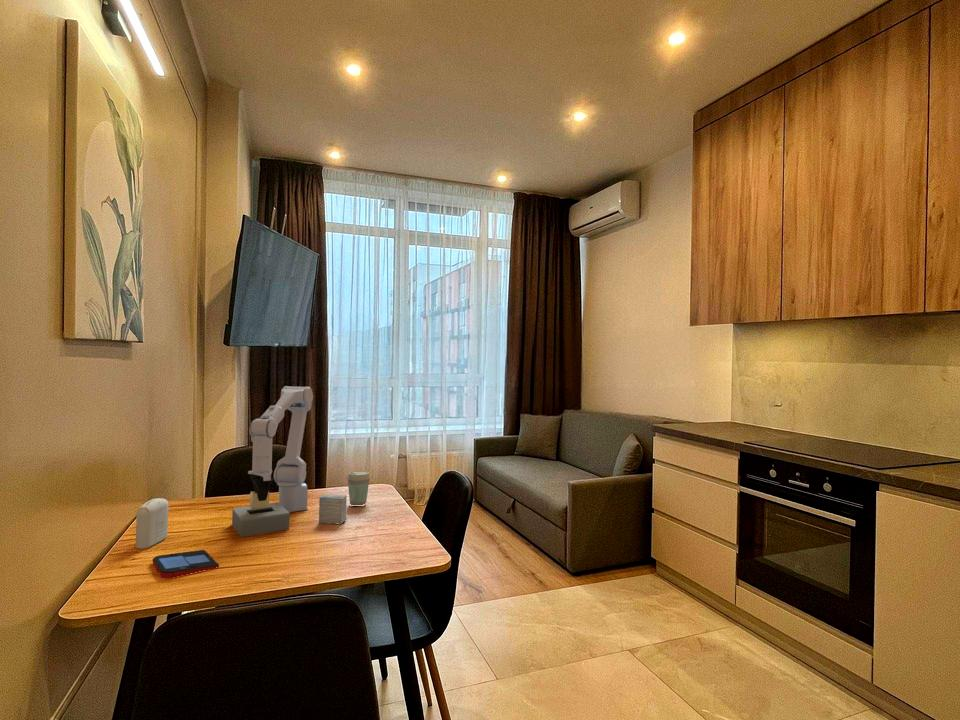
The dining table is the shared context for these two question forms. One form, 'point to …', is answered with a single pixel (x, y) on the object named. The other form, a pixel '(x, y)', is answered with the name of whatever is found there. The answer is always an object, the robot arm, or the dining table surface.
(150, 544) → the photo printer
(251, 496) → the wooden block
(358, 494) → the coffee cup
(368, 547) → the dining table surface
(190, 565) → the game console
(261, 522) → the money box
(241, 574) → the dining table surface
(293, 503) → the robot arm
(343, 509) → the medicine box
